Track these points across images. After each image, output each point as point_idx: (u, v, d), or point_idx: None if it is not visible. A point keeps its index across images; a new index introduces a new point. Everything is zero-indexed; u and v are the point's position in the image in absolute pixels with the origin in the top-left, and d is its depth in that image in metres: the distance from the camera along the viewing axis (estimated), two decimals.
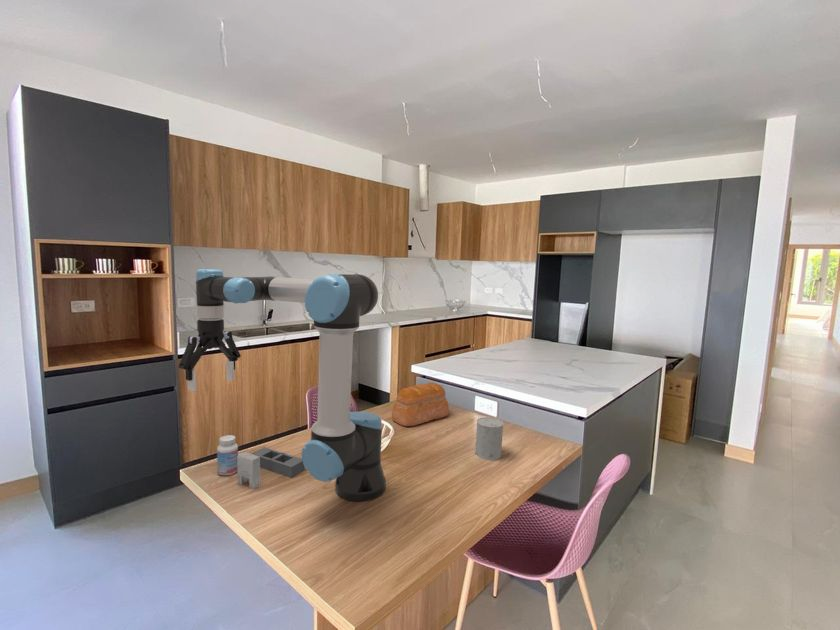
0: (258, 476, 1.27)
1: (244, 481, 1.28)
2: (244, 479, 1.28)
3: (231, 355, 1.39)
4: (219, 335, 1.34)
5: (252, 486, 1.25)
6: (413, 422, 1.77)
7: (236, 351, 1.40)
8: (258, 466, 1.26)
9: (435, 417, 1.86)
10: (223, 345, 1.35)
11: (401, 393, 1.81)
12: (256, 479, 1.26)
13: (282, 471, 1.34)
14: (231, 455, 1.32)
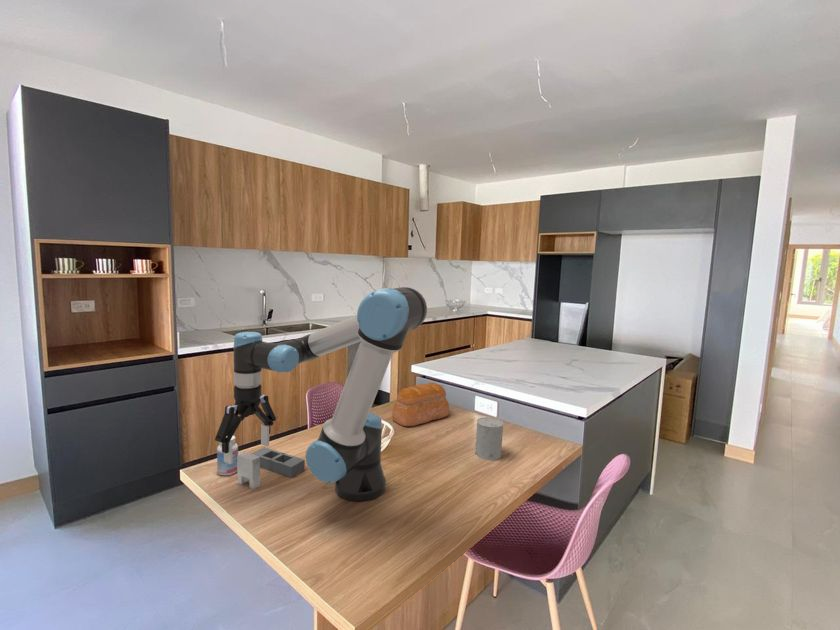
0: (258, 476, 1.27)
1: (244, 481, 1.28)
2: (244, 479, 1.28)
3: (267, 420, 1.31)
4: (256, 401, 1.26)
5: (252, 486, 1.25)
6: (413, 423, 1.77)
7: (272, 415, 1.33)
8: (258, 466, 1.26)
9: (435, 417, 1.86)
10: (260, 411, 1.27)
11: (401, 393, 1.80)
12: (256, 479, 1.26)
13: (282, 471, 1.34)
14: None
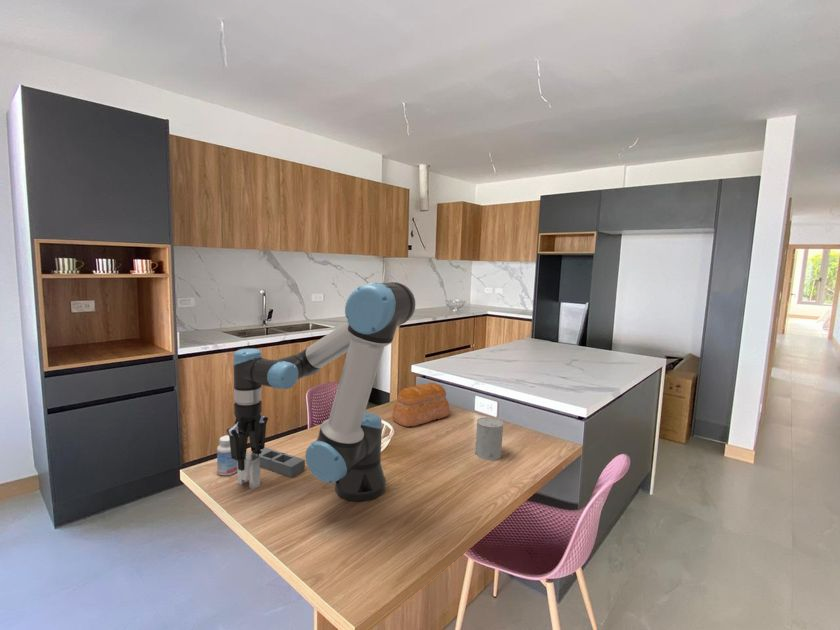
0: (258, 476, 1.27)
1: (244, 481, 1.28)
2: None
3: (257, 446, 1.28)
4: (256, 417, 1.27)
5: (252, 486, 1.25)
6: (414, 423, 1.77)
7: (263, 440, 1.30)
8: (258, 466, 1.26)
9: (436, 417, 1.86)
10: (256, 431, 1.27)
11: (402, 393, 1.80)
12: (256, 479, 1.26)
13: (282, 471, 1.34)
14: None
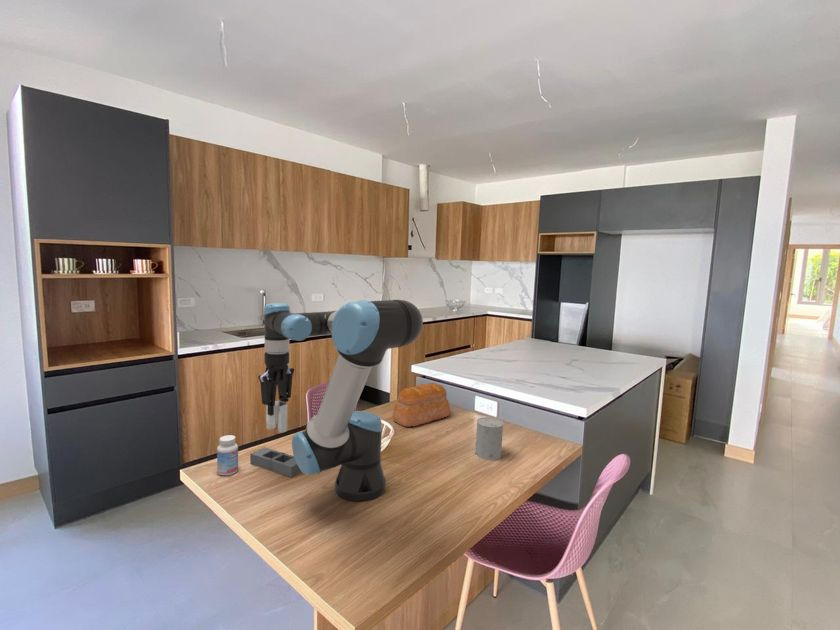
0: (285, 421, 1.37)
1: (272, 427, 1.39)
2: (272, 425, 1.39)
3: (285, 394, 1.38)
4: (284, 367, 1.37)
5: (280, 430, 1.36)
6: (414, 423, 1.77)
7: (289, 390, 1.40)
8: (286, 412, 1.37)
9: (436, 417, 1.85)
10: (284, 380, 1.37)
11: (402, 393, 1.80)
12: (284, 424, 1.36)
13: (282, 471, 1.34)
14: (231, 455, 1.32)
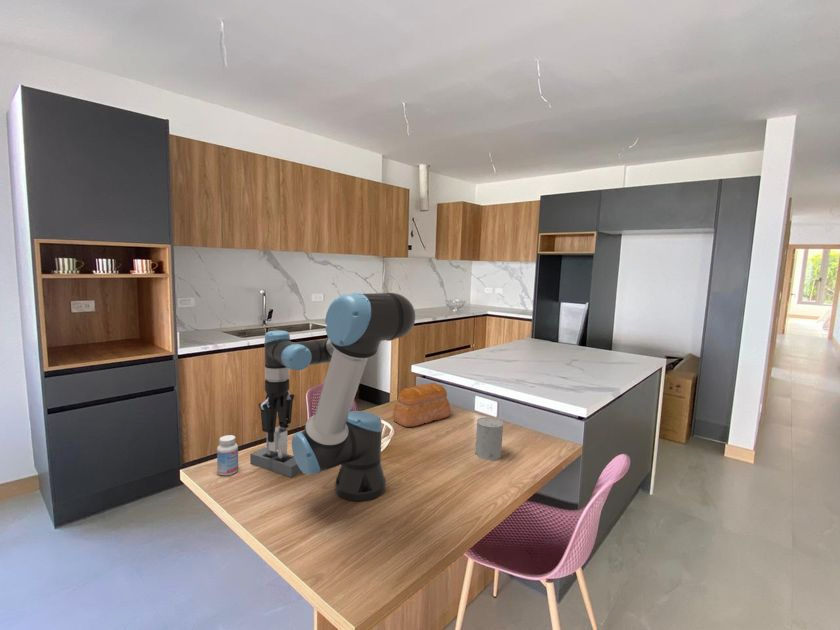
0: (285, 448, 1.38)
1: (272, 453, 1.40)
2: (272, 451, 1.40)
3: (285, 420, 1.39)
4: (284, 394, 1.38)
5: (280, 457, 1.37)
6: (414, 423, 1.77)
7: (289, 416, 1.41)
8: (286, 438, 1.38)
9: (436, 418, 1.85)
10: (284, 406, 1.38)
11: (402, 393, 1.80)
12: (284, 450, 1.37)
13: (282, 471, 1.34)
14: (231, 455, 1.32)
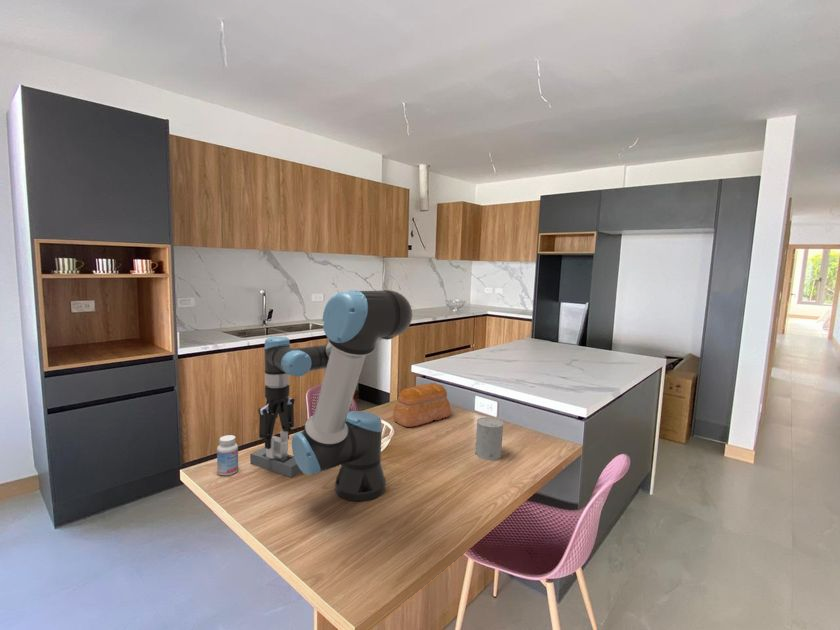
0: (286, 457, 1.38)
1: None
2: None
3: (287, 424, 1.40)
4: (284, 399, 1.38)
5: None
6: (414, 423, 1.77)
7: (292, 420, 1.42)
8: (286, 448, 1.38)
9: (436, 418, 1.85)
10: (285, 411, 1.38)
11: (402, 393, 1.80)
12: (284, 460, 1.38)
13: (282, 471, 1.34)
14: (231, 455, 1.32)
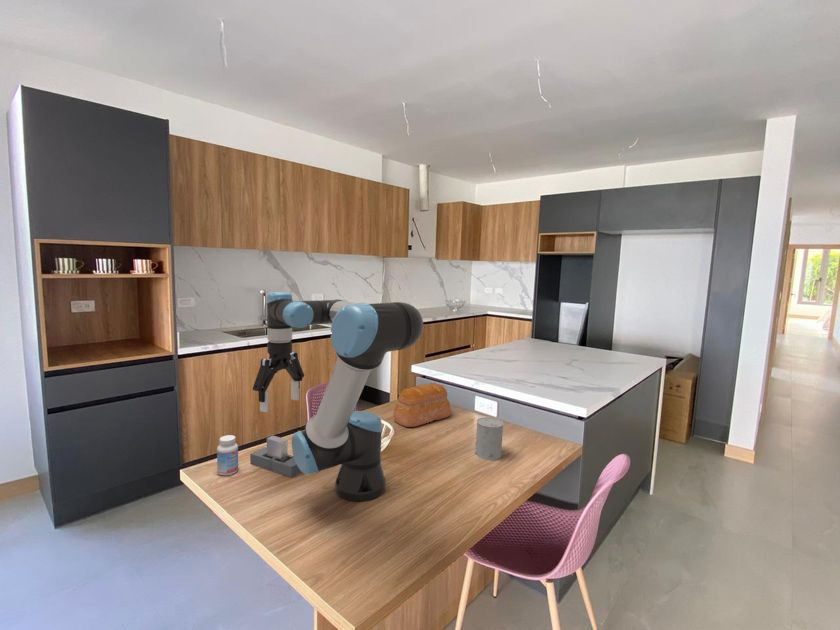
0: (286, 457, 1.38)
1: None
2: None
3: (296, 375, 1.41)
4: (287, 356, 1.37)
5: None
6: (415, 423, 1.77)
7: (300, 371, 1.43)
8: (286, 448, 1.38)
9: (437, 418, 1.85)
10: (290, 366, 1.38)
11: (403, 394, 1.80)
12: (284, 460, 1.38)
13: (282, 471, 1.34)
14: (231, 455, 1.32)
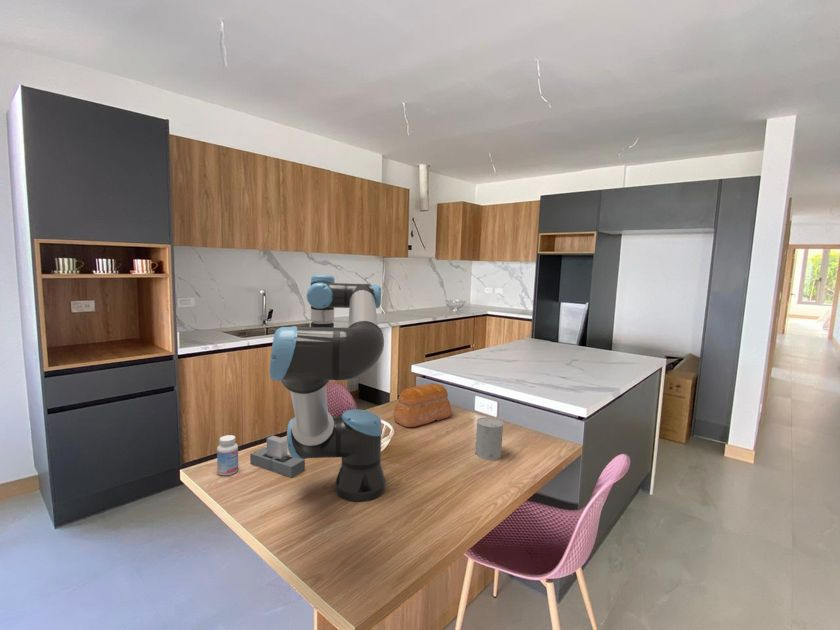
0: (286, 457, 1.38)
1: None
2: None
3: None
4: None
5: None
6: (415, 423, 1.76)
7: None
8: (286, 448, 1.38)
9: (437, 418, 1.85)
10: None
11: (403, 394, 1.80)
12: (284, 460, 1.38)
13: (282, 471, 1.34)
14: (231, 455, 1.32)
